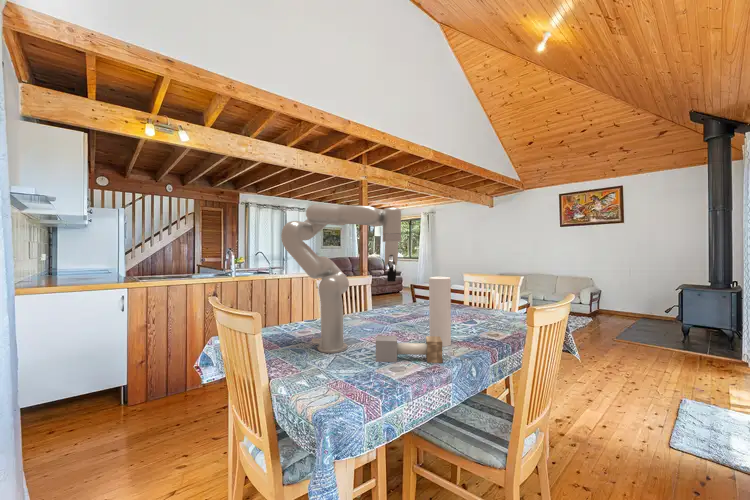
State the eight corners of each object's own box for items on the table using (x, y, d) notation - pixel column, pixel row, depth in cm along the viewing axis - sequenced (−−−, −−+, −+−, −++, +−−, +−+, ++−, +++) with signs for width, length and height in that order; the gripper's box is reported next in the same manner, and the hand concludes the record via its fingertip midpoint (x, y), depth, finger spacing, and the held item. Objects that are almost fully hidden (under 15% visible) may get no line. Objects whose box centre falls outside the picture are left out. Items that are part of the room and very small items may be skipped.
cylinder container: (449, 340, 150) (449, 275, 150) (452, 346, 141) (451, 277, 140) (428, 340, 151) (428, 275, 150) (430, 346, 142) (429, 277, 141)
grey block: (375, 361, 124) (375, 340, 124) (377, 355, 131) (377, 335, 131) (396, 362, 123) (396, 341, 123) (397, 355, 130) (397, 335, 130)
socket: (427, 362, 122) (427, 341, 122) (426, 356, 129) (426, 336, 129) (442, 362, 122) (442, 341, 121) (440, 356, 128) (440, 336, 128)
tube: (394, 356, 124) (394, 344, 124) (394, 352, 129) (394, 340, 129) (434, 357, 123) (433, 345, 123) (432, 353, 128) (432, 341, 127)
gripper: (383, 238, 142) (384, 277, 142) (381, 237, 124) (381, 282, 125) (401, 238, 141) (401, 277, 141) (400, 237, 124) (400, 282, 124)
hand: (391, 280), depth 133 cm, fingers open, 9 cm apart
